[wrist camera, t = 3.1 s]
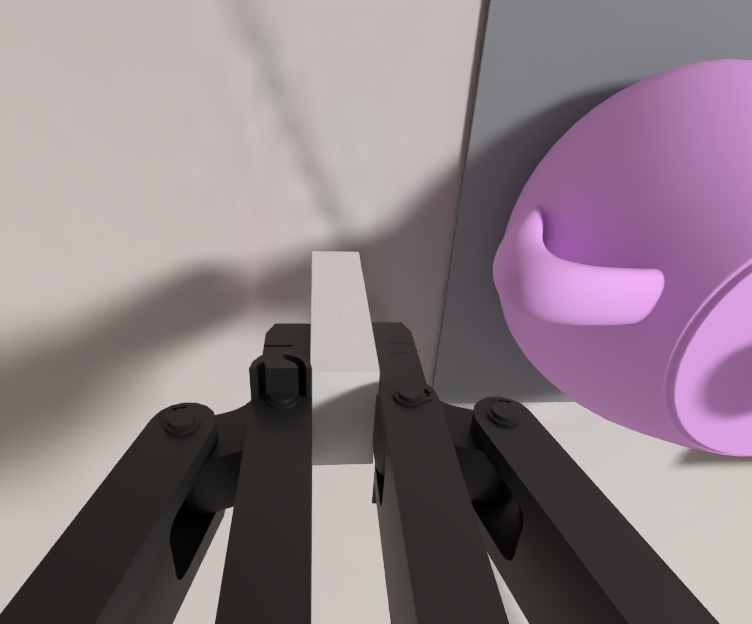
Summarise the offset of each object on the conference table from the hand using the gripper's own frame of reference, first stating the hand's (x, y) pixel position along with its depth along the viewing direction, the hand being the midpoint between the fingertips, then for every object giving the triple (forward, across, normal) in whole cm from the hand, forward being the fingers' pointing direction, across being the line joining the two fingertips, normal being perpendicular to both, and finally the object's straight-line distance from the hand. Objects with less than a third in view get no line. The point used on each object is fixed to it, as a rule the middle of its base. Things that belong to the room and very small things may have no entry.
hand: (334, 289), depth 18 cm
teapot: (+5, +14, 0) cm, 15 cm away
